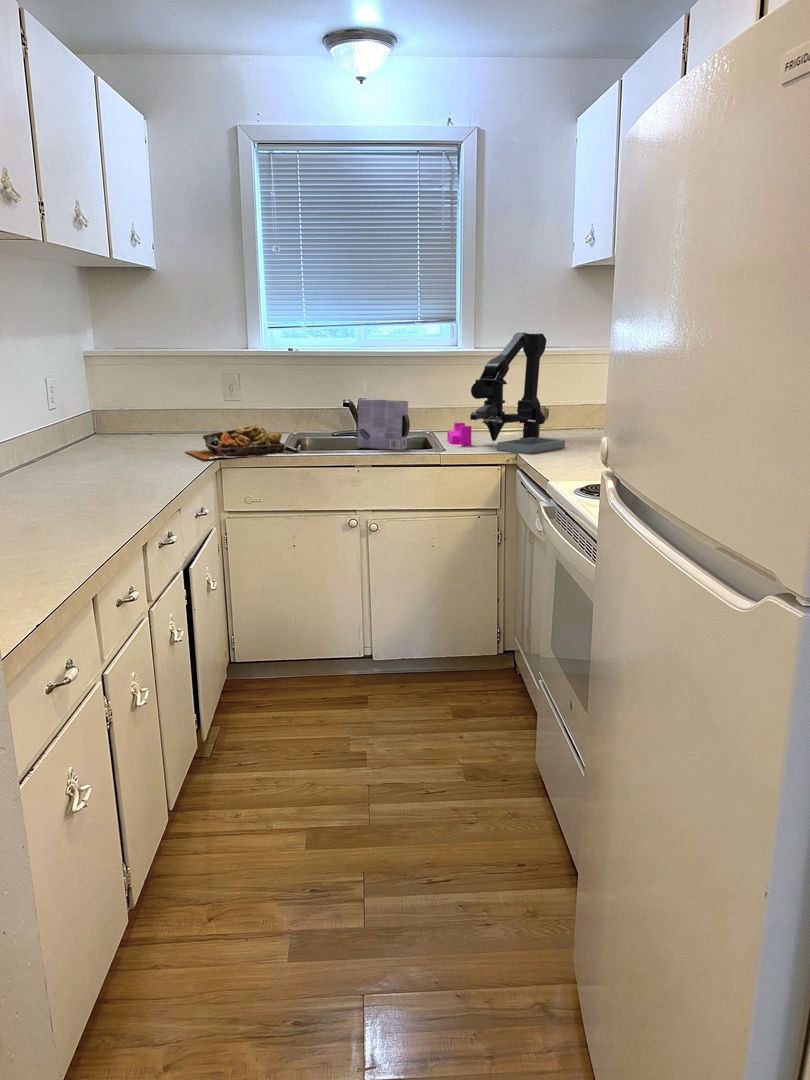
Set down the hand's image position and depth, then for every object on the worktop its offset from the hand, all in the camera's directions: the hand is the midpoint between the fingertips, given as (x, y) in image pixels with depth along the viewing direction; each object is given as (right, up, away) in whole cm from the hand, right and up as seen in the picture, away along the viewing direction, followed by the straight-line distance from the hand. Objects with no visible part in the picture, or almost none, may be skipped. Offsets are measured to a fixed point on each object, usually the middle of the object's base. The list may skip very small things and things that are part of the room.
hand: (494, 440), depth 294 cm
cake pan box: (-40, -4, -4) cm, 41 cm away
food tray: (-90, -6, -11) cm, 91 cm away
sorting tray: (+12, -4, -10) cm, 16 cm away
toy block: (-12, -1, +8) cm, 15 cm away
